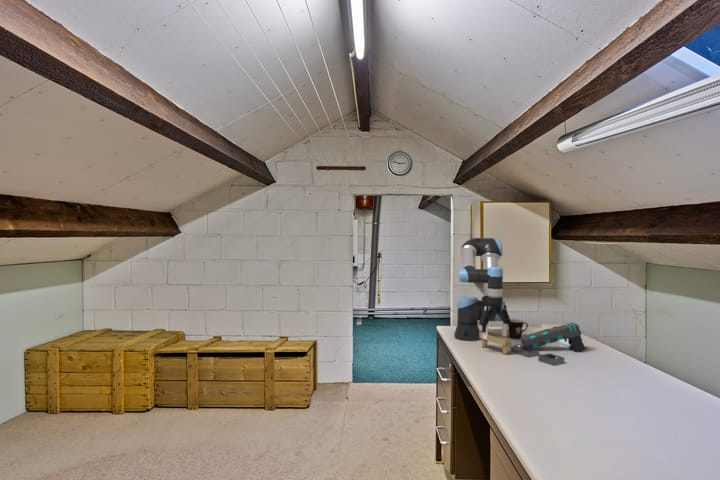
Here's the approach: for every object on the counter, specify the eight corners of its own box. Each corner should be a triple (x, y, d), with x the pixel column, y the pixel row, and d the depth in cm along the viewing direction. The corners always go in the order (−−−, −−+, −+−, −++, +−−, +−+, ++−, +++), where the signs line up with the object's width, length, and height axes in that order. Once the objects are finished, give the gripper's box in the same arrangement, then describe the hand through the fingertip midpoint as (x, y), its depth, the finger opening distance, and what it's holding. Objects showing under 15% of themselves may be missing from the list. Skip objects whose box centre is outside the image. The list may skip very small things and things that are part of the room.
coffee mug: (507, 338, 237) (507, 321, 237) (507, 335, 245) (507, 318, 245) (529, 340, 233) (529, 323, 233) (527, 336, 242) (527, 320, 242)
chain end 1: (510, 351, 211) (510, 344, 211) (521, 349, 215) (521, 343, 215) (528, 357, 202) (528, 350, 201) (539, 355, 205) (539, 348, 205)
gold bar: (479, 346, 220) (479, 332, 220) (484, 346, 222) (484, 331, 222) (505, 355, 204) (505, 339, 204) (511, 354, 206) (511, 339, 206)
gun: (587, 349, 210) (578, 321, 210) (532, 366, 212) (523, 338, 212) (581, 346, 217) (572, 319, 217) (527, 362, 218) (518, 335, 218)
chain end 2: (538, 360, 196) (538, 354, 196) (549, 358, 200) (549, 352, 200) (553, 365, 189) (553, 358, 189) (564, 363, 193) (564, 356, 193)
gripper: (482, 298, 203) (482, 341, 203) (517, 296, 215) (517, 336, 215) (471, 297, 210) (471, 338, 210) (506, 294, 222) (506, 333, 221)
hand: (494, 337), depth 212 cm, fingers open, 13 cm apart
